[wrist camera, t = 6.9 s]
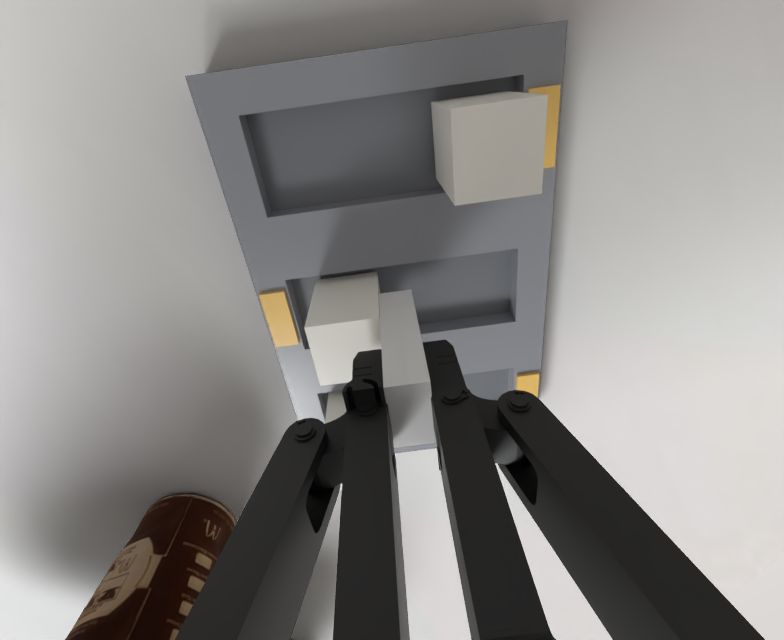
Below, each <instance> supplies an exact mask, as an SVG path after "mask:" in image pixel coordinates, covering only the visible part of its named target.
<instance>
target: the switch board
mask: <svg viewBox="0 0 784 640" xmlns="http://www.w3.org/2000/svg"><path fill="white" fill-rule="evenodd" d="M566 32H567V20H566V21H560V22H553V23H546V24H539V25H532V26H525V27H519V28H512V29H505V30H498V31H491V32H484V33H478V34H471V35H464V36H457V37H450V38H443V39H436V40H430V41H423V42H416V43H409V44H402V45H395V46H389V47H382V48H375V49H368V50H361V51H354V52H348V53H341V54H334V55H327V56H320V57H313V58H307V59H300V60H293V61H286V62H279V63H272V64H265V65H259V66H252V67H245V68H238V69H231V70H224V71H218V72H211V73H204V74H197V75H190V76H185V77H186V80H187V83H188V86H189V89H190V92H191V96H192V99H193V102H194V105H195V108H196V111H197V114H198V117H199V120H200V123H201V126H202V129H203V132H204V135H205V138H206V141H207V144H208V147H209V150H210V153H211V156H212V159H213V163H214V166H215V169H216V172H217V175H218V178H219V181H220V184H221V187H222V190H223V193H224V196H225V199H226V202H227V205H228V208H229V211H230V214H231V217H232V220H233V223H234V226H235V230H236V233H237V236H238V239H239V242H240V245H241V248H242V251H243V254H244V257H245V260H246V263H247V266H248V269H249V272H250V275H251V278H252V281H253V284H254V287H255V290H256V293H257V297H258V300H259V303H260V306H261V309H262V312H263V315H264V318H265V321H266V324H267V327H268V330H269V333H270V336H271V339H272V342H273V345H274V348H275V351H276V354H277V357H278V360H279V364H280V367H281V370H282V373H283V376H284V379H285V382H286V385H287V388H288V391H289V394H290V397H291V400H292V403H293V406H294V409H295V412H296V415H297V418H298V421H299V420H302V419H304V418H316V419H319V420H320V421H322V422H323V423H324V424H325V418H326V410H327V402H328V394H329V392H334V391H341V390H343V388H344V386H345V385H346V384H347V383H340V384H332V385H325V386H320V383H319V380H318V376H317V372H316V369H315V365H314V361H313V358H312V354H311V350H310V347H309V343H308V340H307V336H306V332H305V329H304V327H305V323H306V319H307V315H308V311H309V307H310V303H311V299H312V295H313V291H314V287H315V283H316V280H319V279H326V278H333V277H341V276H348V275H355V274H363V273H370V272H377V275H378V281H379V288H380V294H381V293H388V292H395V291H403V290H410V289H411V290H412V295H413V300H414V305H415V309H416V314H417V319H418V324H419V329H420V334H421V338H422V342H430V341H438V340H445V339H446V340H447V341H448V342H449V343H450V344H452V345H453V347H454V350H455V353H456V356H457V359H458V363H459V365H460V368H461V372H462V375H463V378H464V381H465V384H466V387H467V389H469V390H470V392H471V393H472V394H474V395H475V396H477V397H480V398H483V399H488V400H498V399H499V397H500V396H501V395H502V394H504V393H506V392H508V391H512V390H522V391H526V392H529V393H532V394H533V395H535V396H536V397H537V398H538V399H539V387H540V374H541V361H542V348H543V335H544V322H545V308H546V295H547V282H548V269H549V256H550V243H551V229H552V216H553V203H554V190H555V177H556V164H557V150H558V137H559V124H560V111H561V98H562V85H563V71H564V58H565V45H566ZM502 91H512V92H523V93H534V94H545V95H548V103H547V119H546V136H545V152H544V169H543V185H542V194H536V195H529V196H522V197H515V198H508V199H500V200H493V201H486V202H479V203H471V204H464V205H457V206H455V205H454V204H453V202H452V201H451V199H450V198H449V196H448V195H447V194H446V192H445V191H444V189H443V188H442V186H441V185H440V183H439V182H438V180H437V179H436V169H435V154H434V140H433V125H432V110H431V102H432V101H439V100H446V99H453V98H460V97H467V96H474V95H481V94H488V93H495V92H502ZM432 448H437V443H429V444H421V445H413V446H406V447H398V448H394V453H401V452H409V451H417V450H425V449H432Z"/></svg>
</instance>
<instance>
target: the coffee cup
mask: <svg viewBox="0 0 784 640" xmlns="http://www.w3.org/2000/svg"><path fill="white" fill-rule="evenodd" d="M235 525H236V524H235V518H234V516H233V515H232V514H231V513H230V512H229V511H228V510H227V509H226V508H225V507H224V506H222V505H221V504H220V503H218V502H216V501H214V500H211V499H209V498H206V497H202V496H198V495H193V494H185V495H173V496H168V497H165V498H162V499H160V500H158V501H157V502H156V503H155V504H153V505H152V506H151V507H150V508H149V509H148V511H147V513H146V515H145V516H144V518H143V519H142V521H141V523H140V525H139V526H138V528H137V530H136V532H135V534H134V535H133V537H132V538H131V540H130V541H129V542H128V543H127V545H126V546H125V547H124V549H123V550H122V551H121V552H120V553H119V555H118V557H117V558H116V560H115V561H114V563H113V564H112V566H111V567H110V569H109V571H108V573H107V574H106V576H105V577H104V579H103V580H102V582H101V584H100V585H99V587H98V588H97V589H96V591H95V593H94V595H93V596H92V598H91V600H90V601H89V603H88V604H87V606H86V607H85V608H84V610H83V612H82V614H81V615H80V617H79V618H78V620H77V622H76V624H75V625H74V627H73V629H72V630H71V632H70V633H69V635H68V636H67V638H66V639H65V640H175V638H176V636H177V634H178V632H179V630H180V628H181V627H182V625H183V623H184V621H185V619H186V617H187V615H188V613H189V612H190V610H191V608H192V606H193V604H194V602H195V600H196V598H197V597H198V595H199V593H200V591H201V589H202V587H203V585H204V583H205V582H206V580H207V578H208V576H209V574H210V572H211V570H212V568H213V567H214V565H215V563H216V561H217V559H218V557H219V555H220V553H221V552H222V550H223V548H224V546H225V544H226V542H227V540H228V538H229V537H230V535H231V533H232V531H233V529H234V527H235Z"/></svg>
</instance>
